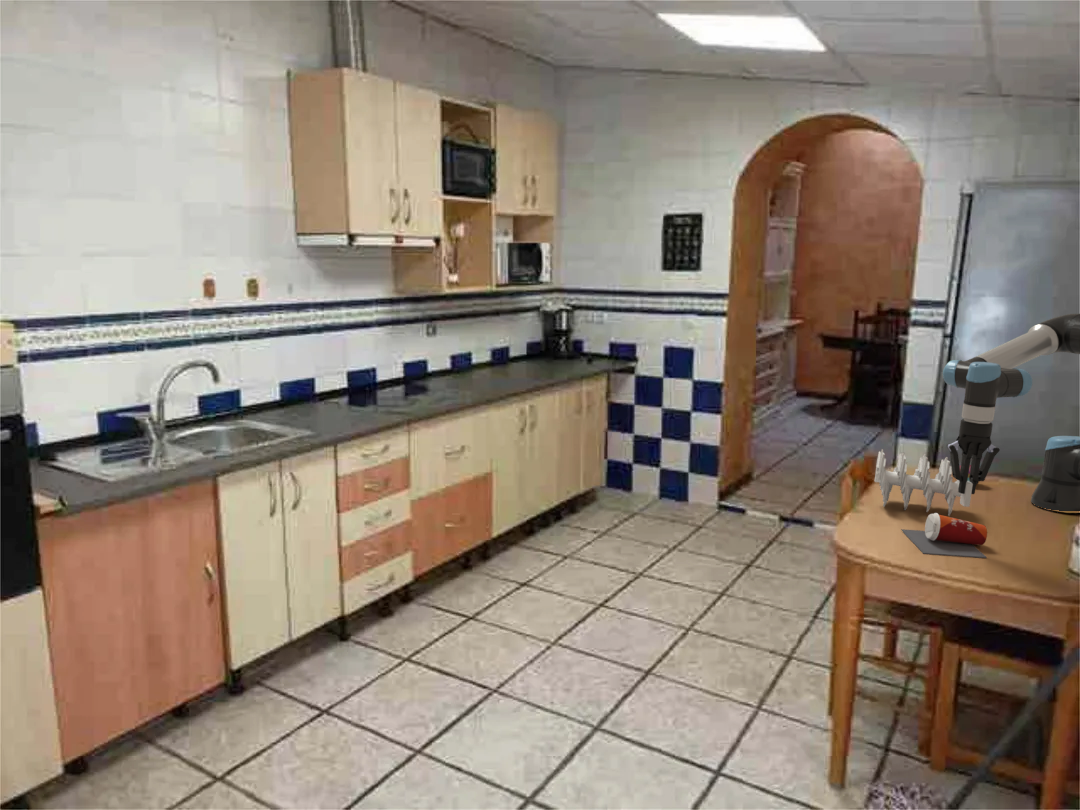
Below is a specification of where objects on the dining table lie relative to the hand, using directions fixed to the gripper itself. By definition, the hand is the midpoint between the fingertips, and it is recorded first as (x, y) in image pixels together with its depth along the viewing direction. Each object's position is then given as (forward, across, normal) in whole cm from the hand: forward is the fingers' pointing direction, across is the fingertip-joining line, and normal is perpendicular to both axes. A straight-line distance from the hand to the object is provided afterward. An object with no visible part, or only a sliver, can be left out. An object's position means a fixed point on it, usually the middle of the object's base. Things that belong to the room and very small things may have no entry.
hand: (964, 504), depth 218 cm
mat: (+12, +4, 0) cm, 12 cm away
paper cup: (+9, -6, 0) cm, 11 cm away
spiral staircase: (+12, +1, -30) cm, 32 cm away
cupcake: (+12, -27, -62) cm, 69 cm away
